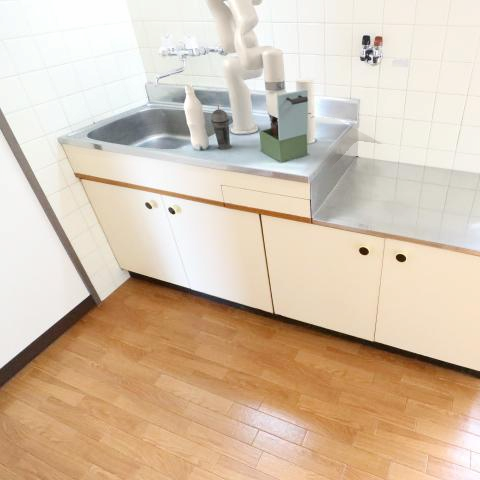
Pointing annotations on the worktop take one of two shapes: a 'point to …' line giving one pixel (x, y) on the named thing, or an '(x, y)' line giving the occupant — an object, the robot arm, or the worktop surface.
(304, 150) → the box
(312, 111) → the cylindrical container
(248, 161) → the worktop surface
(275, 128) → the block
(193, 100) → the water bottle
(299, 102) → the grey lid with handle
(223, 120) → the beverage cup
